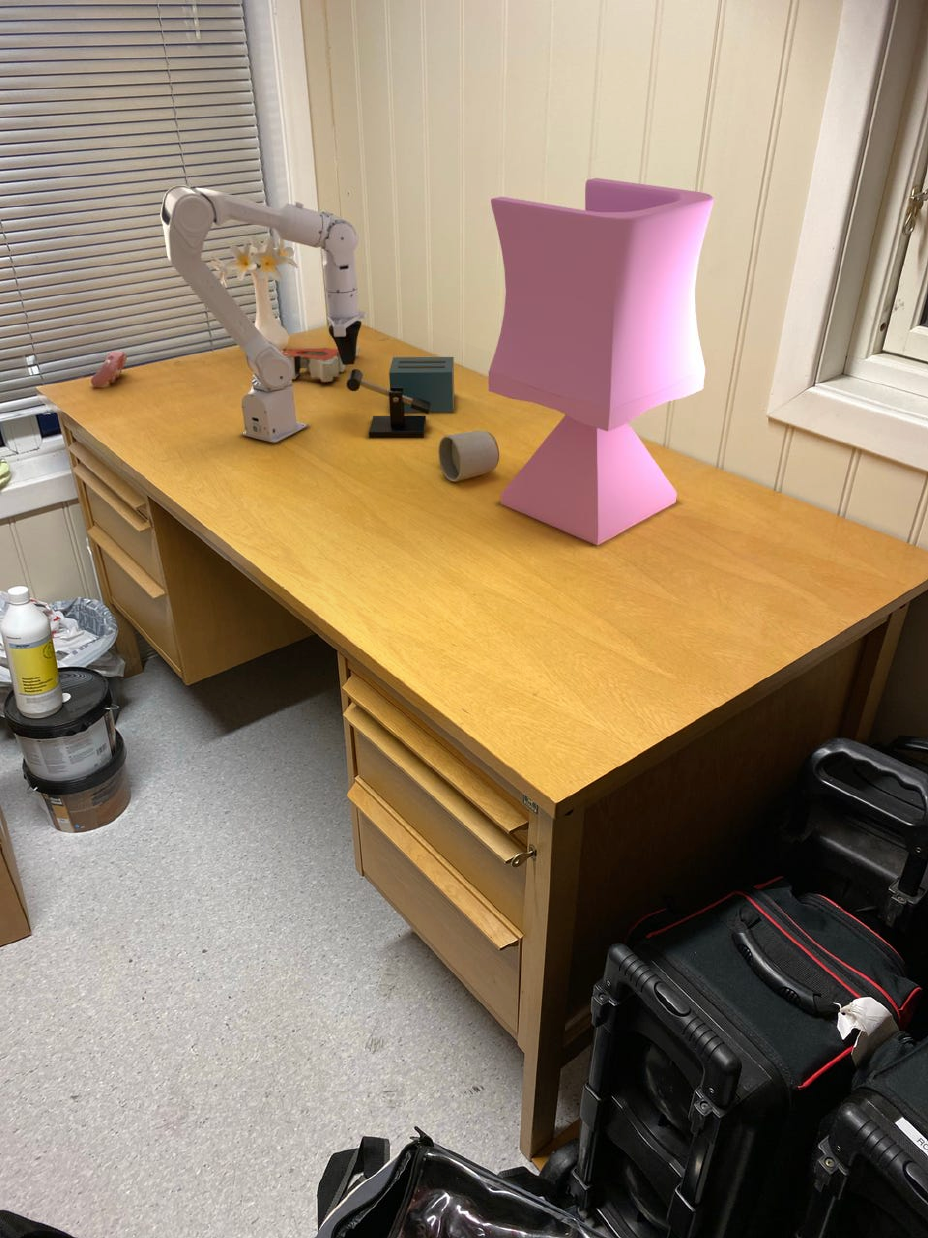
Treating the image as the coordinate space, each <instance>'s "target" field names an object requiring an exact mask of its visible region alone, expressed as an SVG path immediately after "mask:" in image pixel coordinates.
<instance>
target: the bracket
mask: <svg viewBox="0 0 928 1238" xmlns="http://www.w3.org/2000/svg"><path fill="white" fill-rule="evenodd" d="M389 390H391V391H399V392H389V396H388V400H389V401H388V403H389V404H388V405H389V415H373V416H372V419H371V422H370V426H369V430H368V438H369V439H424V438H425V432H426V425H427V415H405V414H406V413H405V412H404V402H403V397H402V395H404V392H403V387H390V386H389Z"/></svg>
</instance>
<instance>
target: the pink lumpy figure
mask: <svg viewBox="0 0 928 1238" xmlns="http://www.w3.org/2000/svg"><path fill="white" fill-rule="evenodd" d="M127 360H128V354H127V353H126V352H123V351H120V350H117V349H115V351H112V352H110V353H108V354H107V355H106V357H105V360H104V362H103V364H102V366H101V367H100V368H99V370H98V371H97V372H95V374H94V375H92V377H91V379H90V383H91V385H92V386H93V387H94V388H100V387H103V386H104V385H106V384H107V383H111V384H114V382H115V381H116V379H118V378H119V377H120V376H121V375H122V373H123V372H122V370H123V368H124V367H125V365H126V363H127Z"/></svg>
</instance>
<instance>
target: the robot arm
mask: <svg viewBox="0 0 928 1238" xmlns="http://www.w3.org/2000/svg"><path fill="white" fill-rule="evenodd" d="M195 189H196V190H197V191H196V190H195ZM195 189H193V188H192V187H190V186H189V185H184V184H178V185H175V186H171V188H169V189H167V191H166V193H165V194H164V196H163V198H162V205H161V209H160V220H161V223H162V227H163V235H164V241H165V247H166V254H167V260H168V261H169V263H170V264H171V266H172V268H174V269H175V270H176V272H177V273H178V274H179V276H180V277H181V278H182V279H183V280H184V282H185V283H186V284H187V285H188V286H189V287H190V289H191V290H192V291H193V292H194V294H195V295H196V296H197V297H198V298H199V300H200V301H201V302H202V303H203V305H204V306H205V308H207V310H208V311H209V312H210V313H211V315H212V316H213V317H214V318H215V319H216V320H217V322H218V323H219V324H220V326H222V328H223V329H224V330H225V331H226V333H227V334H228V335H229V336H230V337H231V339H232V340H233V341H234V342H235V343H236V345H237V346H238V347H239V349H240V350H241V351H242V352H243V354H244V356H245V360H246V365H247V366H248V368H249V370H251V371H252V372H253V376H252V379H251V387H250V388H251V389H250V390H249V391H248V393H246V394H245V395H244V396H243V397H242V398H241V399H242V400H241V410H242V416H243V424H244V430H245V431H243V432H242V436H244V437H248V438H252V439H256V440H260V441H264V442H268V443H272V444H277V443H279V442H280V441H282V440H284V439H286V438H288V437H290V436H292V435H293V434H296V433H298V432H299V431H301V430H304V429H305V428H307V427H308V423H305V422H301V421H297V414H296V405H295V403H296V402H295V395H294V388H293V379H292V377H293V373H294V369H293V365H292V363H291V361H290V360H289V358H287V357H286V356H285V355H283V354H282V353H281V352H280V351H279V349H278V348H277V347H276V345H275V344H273V343H272V342H270V341H267V340H266V339H265V337H264V336H263V335H262V334H261V333H260V331H259V330H258V329H257V328H256V326H255V325H254V324H255V323H253V321H252V320H251V319H250V318H249V316H248V315H247V313H246V312H245V311H244V310H243V308H242V307H241V306H240V305H239V304H238V302H237V301H236V300H235V298H234V297H233V296H232V295H231V293H230V292H229V291H228V290H227V288H226V286H225V285H224V284H223V285H222V284H221V282H220V279H218V277H217V276H216V275H215V273H214V272H213V271H212V270H211V268H210V267H209V266H208V265H207V263H206V262H205V261H204V260H203V258H202V255H203V249H204V244H205V239H206V238H207V236H208V234H209V232H210V230H211V229H212V227H213V224H215V226H217V227H219V226H222V225H224V224H225V223H227V222H229V221H231V220H234V221H238V222H242V223H247V224H251V225H255V226H260V227H265V228H270V229H273V230H275V232H276V234H277V235H278V237H279V236H280V238H281V239H283V240H284V241H288V242H291V243H295V244H300V245H304V246H307V247H312V248H321V250H320V251H321V257H322V271H323V279H324V290H325V298H326V299H325V300H326V309H327V314H326V319H327V321H328V322H329V323H330V325H329V326H328V334H329V335H330V336H331V338H332V339H333V341H334V343H335V346H336V349H338V351H339V355H340V358H341V361H342V363H343V365H347V366H348V365H349V366H352V365H355V362H356V357H357V356H356V345H357V346H358V344H357V343H358V338H359V332H360V330H361V327H362V321H361V319H366V318H367V311H360V302H359V301H360V299H359V291H358V279H357V268H356V260H355V250H356V248H357V246H358V243H359V235H357V233H356V229H355V227H354V226H353V225H352V224H351V223H350V222H349V221H348V220H346V219H343V218H342V217H340V216H338V215H335V214H334V213H332V212H329V211H327V210H324V209H322V210H321V212H320V211H317V210H314V209H309V208H306V207H304V203H302V202H299V201H293V204H292V203H285V204H283V205H282V206H281V207H279V208H275V207H271V206H269V205H265V204H262V203H259V202H255V201H253V200H249V199H245V198H243V197H239V196H236V195H233V194H230V193H226V192H224V191H223V192H222V191H218V190H213V189H208V188H202V187H195ZM198 192H199V193H198Z"/></svg>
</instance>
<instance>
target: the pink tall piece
mask: <svg viewBox="0 0 928 1238" xmlns="http://www.w3.org/2000/svg"><path fill="white" fill-rule="evenodd" d="M714 199H715V198H714V197H713V196H712V195H711V194H709V193H707V192H700V191H695V190H688V189H681V188H675V187H667V186H659V185H652V184H644V183H637V182H629V181H622V180H616V179H608V178H600V177H594V178H588V179H586V180H585V188H584V209H580V208H579V209H578V208H573V207H567V206H561V205H554V204H548V203H542V202H537V201H531V200H525V199H518V198H512V197H507V196H497V197H493V198H492V197H491V199H490V203H491V204H490V205H491V210H492V213H493V218H494V222H495V226H496V230H497V235H498V240H499V243H500V250H501V255H502V262H503V270H504V283H505V284H504V286H505V298H504V310H503V317H502V321H501V328H500V333H499V336H498V340H497V343H496V348H495V351H494V354H493V357H492V360H491V364H490V366H489V370H488V392H490V393H493V394H496V395H498V396H502V397H506V398H507V399H510V400H511V399H512V400H517V401H523V402H528V403H533V404H536V405H538V406H539V405H540V406H541V407H545V408H548V409H551V410H555V411H557V412H559V413H561V414H563V415H564V416H563V417H562V418H561V420H560V421H559V422H558V424H557V425H556V426H555V427H554V428H553V429H552V431H551V432H550V433H549V435H548V436H547V437H546V438H545V440H543V442H541V444H540V446H539V447H538V448H537V449H536V450H535V452H534V453H533V454H532V455H531V456H530V457H529V459H528V460H527V461H526V462H525V464H524V465H523V466H522V468H521V469H520V470H519V471H518V472H517V474H516V475H515V476H514V477H513V478H512V480H511V481H510V482H509V483H508V485H507V486H506V487H505V488H504V490H503V491H502V492H501V493H500V504H501V505H502V506H505V507H508V508H510V509H512V510H514V511H517V512H519V513H521V514H524V515H526V516H529V517H531V518H533V519H536V520H537V521H540V522H542V523H544V524H546V525H548V526H551V527H554V528H556V529H558V530H561V531H562V532H566V533H567V534H570V535H572V536H575V537H577V538H579V539H581V540H584V541H585V542H589V543H590V544H593V545H596V546H600V545H601V544H603V543H605V542H606V541H608V540H610V539H612V538H614V537H615V536H618V535H619V534H621V533H623V532H625V531H627V530H628V529H631V528H632V527H634V526H636V525H638V524H639V523H641V522H643V521H644V520H646V519H648V518H650V517H653V516H654V515H656V514H657V513H659V512H661V511H663V510H665V509H666V508H668V507H671V505H673V504H675V503H676V501H677V494H678V493H677V491H676V489H675V488H674V486H673V485H672V483H671V482H670V480H669V479H668V478H667V476H666V475H665V474H664V471H662V469H661V468H660V467H659V465H658V463H657V462H656V460H655V459H654V458H653V456H652V454H651V453H650V452H649V451H648V449H647V448H646V447H645V444H644V443H643V442H642V441H641V439H640V438H639V436H638V435H637V433H636V432H635V430H634V429H633V427H632V426H631V425H630V423H631V422H632V421H633V420H635V419H637V418H638V417H640V416H641V415H643V414H645V413H646V412H648V411H649V410H651V409H655V408H657V407H658V406H661V405H663V404H665V403H668V402H671V401H674V400H675V401H676V400H679V399H680V400H681V399H683V398H686V397H688V396H691V395H693V394H696V393H697V392H700V391H702V390H704V384H705V375H706V367H705V363H704V358H703V357H704V356H703V353H702V349H701V344H700V339H699V338H700V337H699V332H698V326H697V325H698V324H697V314H696V284H697V283H696V282H697V272H698V265H699V259H700V254H701V250H702V245H703V241H704V238H705V233H706V229H707V227H708V223H709V219H710V215H711V214H712V213H711V212H712V208H713V205H714Z"/></svg>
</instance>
